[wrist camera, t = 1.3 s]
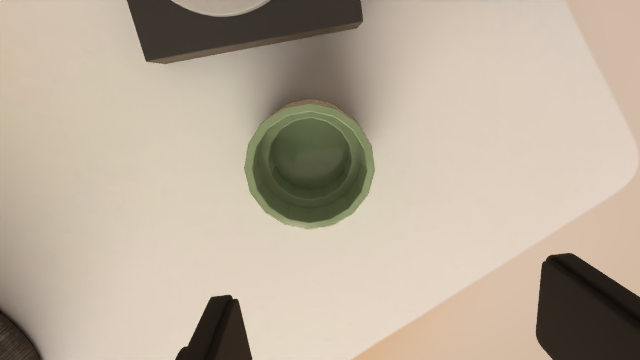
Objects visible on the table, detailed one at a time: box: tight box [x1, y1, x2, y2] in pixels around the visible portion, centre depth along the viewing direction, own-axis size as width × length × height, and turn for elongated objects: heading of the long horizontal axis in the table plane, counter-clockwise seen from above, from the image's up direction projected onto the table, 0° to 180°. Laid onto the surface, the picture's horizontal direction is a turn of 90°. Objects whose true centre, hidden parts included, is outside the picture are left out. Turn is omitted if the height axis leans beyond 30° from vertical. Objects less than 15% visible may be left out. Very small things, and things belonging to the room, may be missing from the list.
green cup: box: [244, 99, 375, 229], centre depth 21 cm, size 7×7×5 cm
